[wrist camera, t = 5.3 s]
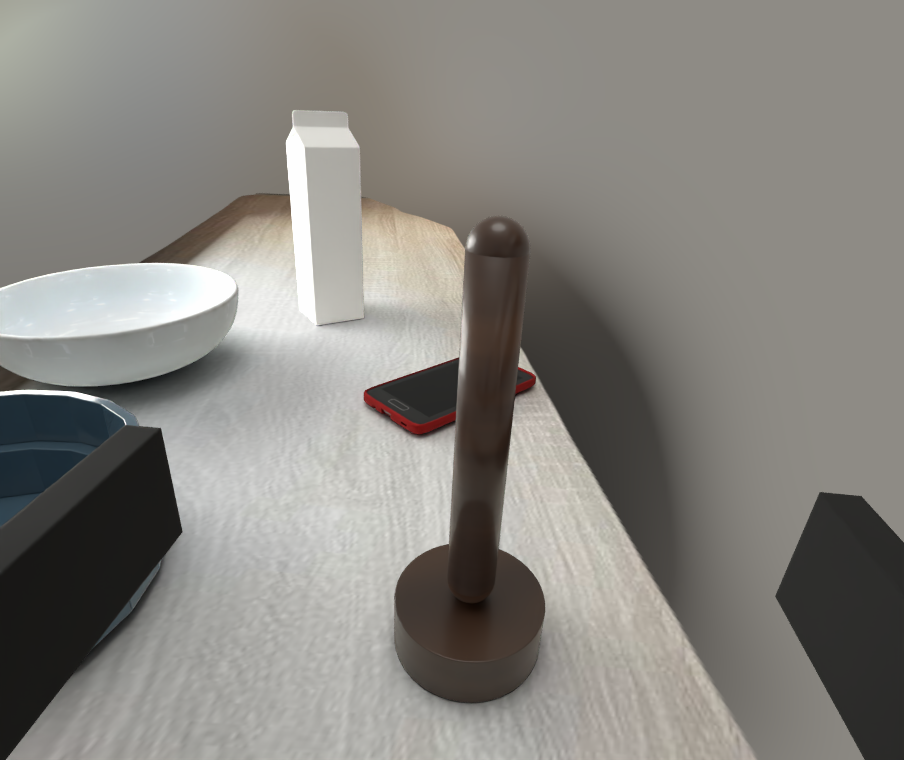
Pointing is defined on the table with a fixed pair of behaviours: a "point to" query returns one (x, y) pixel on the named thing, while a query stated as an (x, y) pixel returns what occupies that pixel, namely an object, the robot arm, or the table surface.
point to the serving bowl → (114, 322)
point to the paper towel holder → (477, 502)
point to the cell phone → (426, 396)
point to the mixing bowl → (53, 448)
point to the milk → (326, 216)
